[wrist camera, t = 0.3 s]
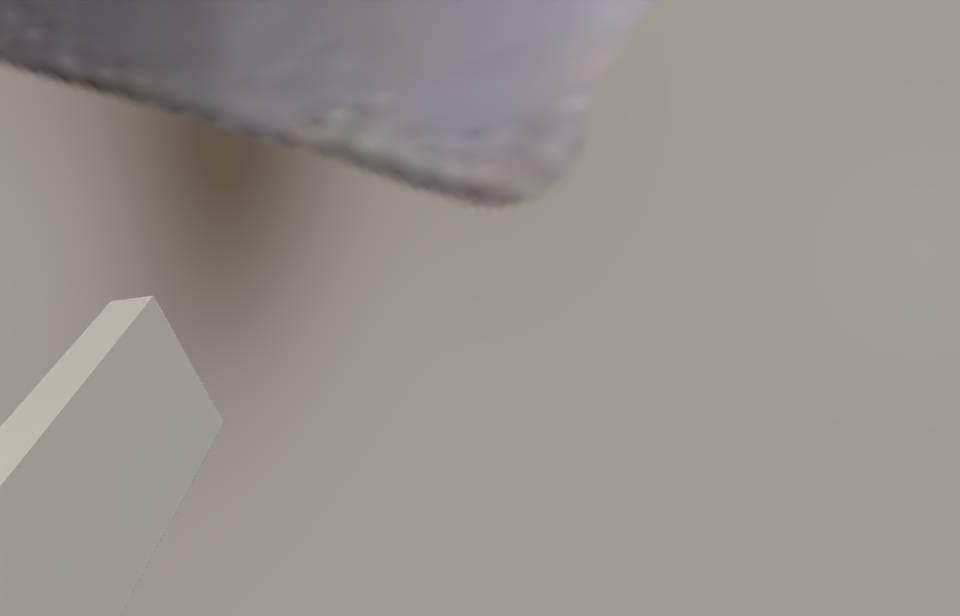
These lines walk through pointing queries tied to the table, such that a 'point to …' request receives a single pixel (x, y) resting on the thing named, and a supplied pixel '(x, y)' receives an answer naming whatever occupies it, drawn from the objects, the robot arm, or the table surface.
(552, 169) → the table surface
